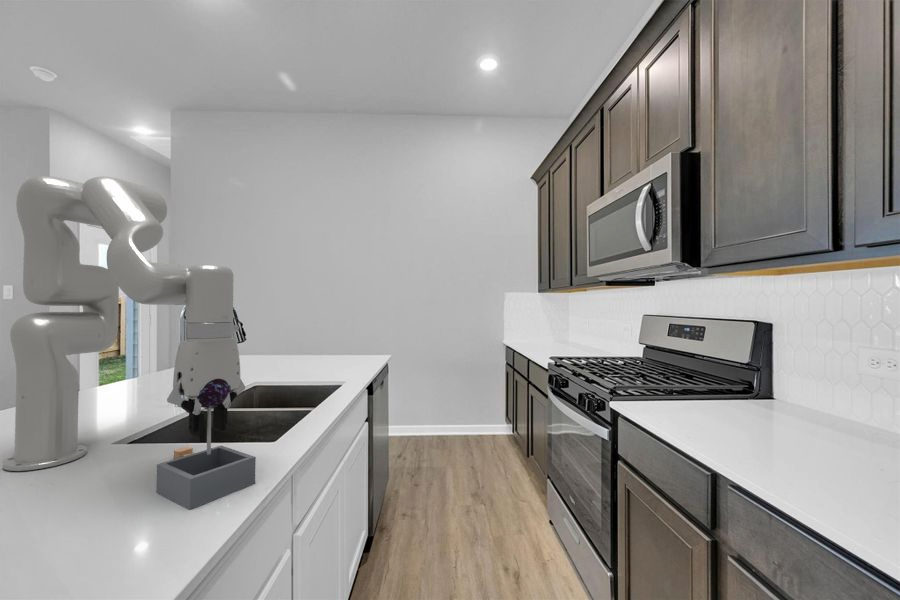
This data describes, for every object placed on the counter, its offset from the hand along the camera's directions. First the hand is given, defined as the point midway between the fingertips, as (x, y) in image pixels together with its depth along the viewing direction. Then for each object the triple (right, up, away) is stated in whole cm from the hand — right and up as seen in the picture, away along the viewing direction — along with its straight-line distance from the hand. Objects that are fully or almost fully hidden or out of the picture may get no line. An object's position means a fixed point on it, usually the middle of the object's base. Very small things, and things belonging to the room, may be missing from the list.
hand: (208, 431), depth 74 cm
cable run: (-10, -10, +9) cm, 17 cm away
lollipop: (0, -4, 0) cm, 4 cm away
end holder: (0, -10, 0) cm, 10 cm away
